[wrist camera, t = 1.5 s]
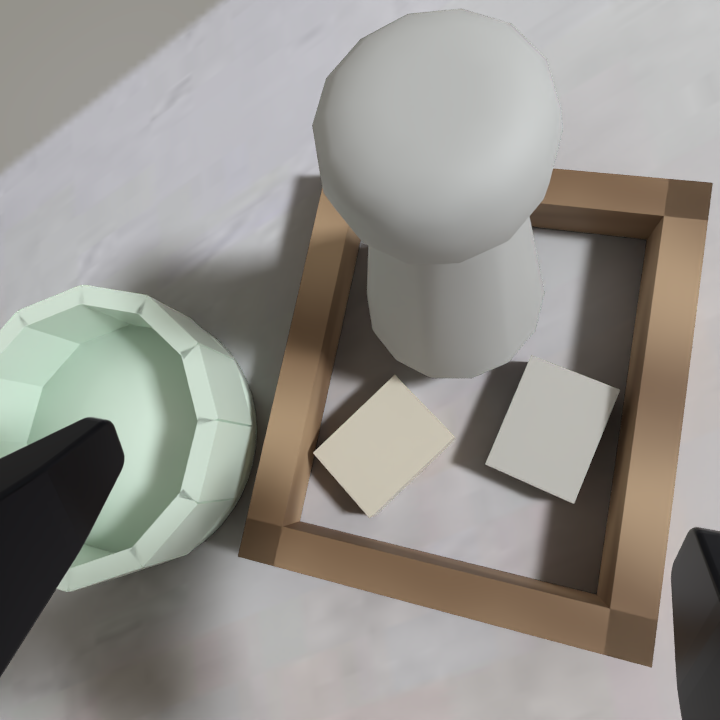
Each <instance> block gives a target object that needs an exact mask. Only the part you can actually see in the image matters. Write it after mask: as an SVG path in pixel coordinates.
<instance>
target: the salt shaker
mask: <svg viewBox="0 0 720 720" xmlns="http://www.w3.org/2000/svg"><path fill="white" fill-rule="evenodd" d="M312 126H313V133H314V139H315V145H316V152H317V158H318V164H319V170H320V176H321V182H322V187H323V192H324V194H325V196H326V197H327V198H328V200H329V201H330V202H331V204H332V205H333V207H334V208H335V209H336V210H337V212H338V213H339V214H340V215H341V217H342V218H343V219H344V220H345V221H346V223H347V224H348V225H349V226H350V228H351V229H352V230H353V231H354V233H355V234H356V235H357V236H358V237H359V239H360V240H361V241H362V242H363V243H364V244H366V245H368V274H367V298H368V304H369V311H370V317H371V323H372V330H373V331H374V333H375V334H376V335H377V336H378V338H379V339H380V340H381V341H382V343H383V344H384V345H385V347H386V348H387V349H388V350H389V352H390V353H391V354H392V355H393V357H394V358H395V359H396V360H397V361H399V362H401V363H403V364H405V365H407V366H409V367H411V368H412V369H414V370H416V371H418V372H420V373H422V374H424V375H426V376H428V377H430V378H474V377H476V376H478V375H481V374H483V373H485V372H487V371H490V370H492V369H494V368H497V367H499V366H501V365H504V364H506V363H508V362H509V361H510V360H511V359H512V358H513V357H514V356H515V354H516V353H517V352H518V351H519V350H520V348H521V347H522V346H523V345H524V344H525V343H526V341H527V340H528V339H529V338H530V337H531V335H532V334H533V333H534V332H535V331H536V327H537V322H538V318H539V314H540V310H541V306H542V302H543V298H544V294H545V291H544V286H543V281H542V276H541V271H540V266H539V261H538V256H537V251H536V246H535V241H534V236H533V231H532V226H531V221H530V215H531V214H532V213H533V211H534V210H535V209H536V208H537V207H538V205H539V204H540V203H541V202H542V201H543V199H544V197H545V194H546V191H547V188H548V185H549V183H550V179H551V175H552V171H553V167H554V163H555V160H556V156H557V152H558V148H559V144H560V140H561V137H562V133H563V123H562V109H561V105H560V102H559V98H558V95H557V91H556V88H555V85H554V81H553V78H552V74H551V71H550V68H549V64H548V61H547V59H546V58H545V57H544V56H543V55H542V54H541V53H540V52H539V51H538V50H537V49H536V48H535V47H534V46H533V45H532V44H531V43H530V42H529V41H528V40H527V39H526V38H525V37H524V36H523V35H522V34H521V33H520V32H519V31H518V30H517V29H516V28H515V27H514V26H513V25H512V24H511V23H507V22H504V21H501V20H497V19H494V18H491V17H487V16H484V15H481V14H477V13H474V12H471V11H467V10H464V9H453V10H443V11H432V12H422V13H411V14H407V15H405V16H403V17H401V18H399V19H397V20H396V21H394V22H392V23H390V24H388V25H386V26H384V27H382V28H381V29H379V30H377V31H375V32H373V33H371V34H369V35H367V36H366V37H364V38H362V39H360V40H359V42H358V43H357V44H356V45H355V46H354V47H353V48H352V50H351V51H350V52H349V53H348V54H347V55H346V56H345V57H344V59H343V60H342V61H341V62H340V63H339V64H338V65H337V67H336V68H335V69H334V70H333V71H332V72H331V73H330V74H329V76H328V77H327V78H326V81H325V84H324V88H323V91H322V94H321V98H320V101H319V104H318V108H317V111H316V115H315V118H314V121H313V125H312Z"/></svg>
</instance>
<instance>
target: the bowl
mask: <svg viewBox="0 0 720 720" xmlns="http://www.w3.org/2000/svg"><path fill="white" fill-rule="evenodd" d="M86 417H95V418H100V419H106V420H109V421H111V422H112V423H113V424H114V426H115V429H116V432H117V434H118V437H119V440H120V443H121V446H122V449H123V451H124V456H125V460H124V465H123V468H122V471H121V473H120V475H119V477H118V479H117V481H116V483H115V485H114V487H113V489H112V491H111V492H110V494H109V496H108V498H107V500H106V502H105V504H104V506H103V508H102V510H101V512H100V514H99V516H98V518H97V520H96V522H95V524H94V526H93V528H92V530H91V532H90V534H89V536H88V538H87V540H86V541H85V543H84V545H83V547H82V549H81V550H80V552H79V554H78V555H77V557H76V559H75V560H74V562H73V563H72V565H71V567H70V568H69V570H68V571H67V573H66V574H65V576H64V578H63V579H62V581H61V582H60V584H59V585H58V587H57V589H59V590H62V591H65V592H71V591H75V590H78V589H81V588H85V587H88V586H91V585H95V584H98V583H101V582H105V581H108V580H111V579H115V578H118V577H121V576H125V575H128V574H131V573H134V572H137V571H140V570H143V569H146V568H149V567H152V566H155V565H158V564H162V563H165V562H168V561H170V560H173V559H176V558H179V557H182V556H185V555H187V554H189V553H190V552H191V551H192V550H193V549H194V548H196V547H197V546H199V545H200V544H201V543H202V542H204V541H205V540H206V539H208V538H209V537H210V536H211V535H212V534H213V533H214V532H215V531H216V530H217V529H218V528H219V527H220V526H221V525H222V524H223V522H224V521H225V520H226V518H227V517H228V516H229V514H230V513H231V512H232V510H233V509H234V507H235V505H236V504H237V502H238V500H239V498H240V497H241V495H242V493H243V490H244V488H245V486H246V483H247V481H248V478H249V475H250V472H251V468H252V465H253V461H254V455H255V449H256V435H257V424H256V412H255V407H254V402H253V397H252V394H251V391H250V388H249V385H248V382H247V380H246V378H245V376H244V374H243V372H242V370H241V368H240V366H239V364H238V363H237V362H236V360H235V359H234V357H233V356H232V354H231V353H230V352H229V351H228V350H227V349H226V348H225V347H224V346H223V344H222V343H221V342H219V341H218V340H217V339H216V338H214V337H213V336H212V335H211V334H210V333H208V332H206V331H204V330H203V329H202V328H201V327H199V326H198V325H197V324H196V323H195V322H194V321H193V320H192V319H191V318H190V317H188V316H186V315H184V314H182V313H180V312H178V311H176V310H174V309H173V308H171V307H169V306H167V305H165V304H163V303H161V302H159V301H158V300H156V299H154V298H152V297H150V296H148V295H144V294H138V293H132V292H125V291H119V290H113V289H107V288H101V287H95V286H89V285H83V286H82V285H79V286H77V287H74V288H72V289H70V290H67V291H65V292H62V293H60V294H57V295H55V296H52V297H50V298H47V299H45V300H43V301H40V302H38V303H35V304H33V305H30V306H28V307H25V308H23V309H20V310H18V312H16V313H15V314H14V315H13V316H12V317H11V319H10V320H9V321H8V322H7V323H6V324H5V325H4V326H3V328H2V329H1V330H0V458H2V457H4V456H6V455H8V454H11V453H13V452H15V451H17V450H19V449H21V448H23V447H25V446H27V445H29V444H31V443H33V442H35V441H38V440H40V439H42V438H44V437H46V436H48V435H50V434H52V433H54V432H56V431H58V430H60V429H62V428H64V427H66V426H69V425H71V424H73V423H75V422H77V421H79V420H81V419H83V418H86Z"/></svg>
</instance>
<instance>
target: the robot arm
mask: <svg viewBox="0 0 720 720" xmlns="http://www.w3.org/2000/svg"><path fill="white" fill-rule="evenodd" d="M124 460H125V456H124V451H123V449H122V446H121V443H120V440H119V437H118V434H117V432H116V429H115V426H114V424H113V423H112V422H111V421H109V420H106V419H100V418H95V417H86V418H83V419H81V420H79V421H77V422H75V423H73V424H71V425H69V426H66V427H64V428H62V429H60V430H58V431H56V432H54V433H52V434H50V435H48V436H46V437H44V438H42V439H40V440H38V441H35V442H33V443H31V444H29V445H27V446H25V447H23V448H21V449H19V450H17V451H15V452H13V453H11V454H8V455H6V456H4V457H2V458H0V677H1V675H2V674H3V672H4V671H5V669H6V667H7V666H8V664H9V663H10V661H11V660H12V658H13V656H14V655H15V653H16V652H17V650H18V649H19V647H20V645H21V644H22V642H23V641H24V639H25V637H26V636H27V634H28V633H29V631H30V630H31V628H32V626H33V625H34V623H35V622H36V620H37V619H38V617H39V615H40V614H41V612H42V611H43V609H44V608H45V606H46V604H47V603H48V601H49V600H50V598H51V596H52V595H53V593H54V592H55V590H56V589H57V587H58V585H59V584H60V582H61V581H62V579H63V578H64V576H65V574H66V573H67V571H68V570H69V568H70V567H71V565H72V563H73V562H74V560H75V559H76V557H77V555H78V554H79V552H80V550H81V549H82V547H83V545H84V543H85V541H86V540H87V538H88V536H89V534H90V532H91V530H92V528H93V526H94V524H95V522H96V520H97V518H98V516H99V514H100V512H101V510H102V508H103V506H104V504H105V502H106V500H107V498H108V496H109V494H110V492H111V491H112V489H113V487H114V485H115V483H116V481H117V479H118V477H119V475H120V473H121V471H122V468H123V465H124ZM671 587H672V605H673V624H674V642H675V661H676V677H677V690H678V697H679V704H680V710H681V716H682V720H720V531H715V530H710V529H704V528H699V527H694V528H692V529H691V530H690V531H689V532H688V534H687V536H686V538H685V540H684V542H683V544H682V546H681V548H680V550H679V552H678V554H677V557H676V559H675V561H674V563H673V567H672V572H671Z"/></svg>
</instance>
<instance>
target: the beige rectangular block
mask: <svg viewBox="0 0 720 720" xmlns="http://www.w3.org/2000/svg"><path fill="white" fill-rule="evenodd" d="M455 440H456V438H455V437H454V435H453V434H452V433H451V432H450V431H449V430H448V429H447V428H446V427H445V426H444V425H443V424H442V423H441V422H440V421H439V420H438V419H437V418H436V417H435V416H434V415H433V414H432V413H431V412H430V411H429V410H428V409H427V408H426V406H425V405H424V404H423V403H422V402H421V401H420V400H419V399H418V398H417V397H416V396H415V395H414V394H413V393H412V392H411V391H410V390H409V389H408V388H407V387H406V386H405V385H404V384H403V383H402V382H401V381H400V380H399V379H398V378H397V376H396V375H394V376H393V377H392V378H391V379H390V380H389V381H388V382H387V383H385V384H384V385H383V386H382V387H381V388H380V389H379V390H378V391H377V392H376V393H375V394H374V395H373V396H372V397H371V398H370V399H369V400H368V401H367V402H366V403H365V404H364V405H362V406H361V407H360V408H359V409H358V410H357V411H356V412H355V413H354V414H353V415H352V416H351V417H350V418H349V419H348V420H347V421H346V422H345V423H344V424H343V425H342V426H340V427H339V428H338V429H337V430H336V431H335V432H334V433H333V434H332V435H331V436H330V437H329V438H328V439H327V440H326V441H325V442H324V443H323V444H322V445H321V446H320V447H319V448H317V449H316V450H315V451H314V452H313V454H314V455H315V456H316V457H317V458H318V459H319V460H320V462H321V463H322V464H323V465H324V466H325V467H326V469H327V470H328V471H329V472H330V473H331V474H332V475H333V477H334V478H335V479H336V480H337V481H338V482H339V484H340V485H341V486H342V487H343V488H344V489H345V490H346V492H347V493H348V494H349V495H350V496H351V497H352V499H353V500H354V501H355V502H356V503H357V504H358V505H359V507H360V508H361V509H362V510H363V511H364V512H365V514H366V515H367V516H368V517H369V518H372V517H374V516H376V515H377V514H378V513H379V512H380V511H381V510H383V509H384V508H385V507H386V506H387V505H388V504H389V503H390V502H391V501H392V500H393V499H394V498H395V497H396V496H397V495H398V494H399V493H400V492H401V491H402V490H403V489H405V488H406V487H407V486H408V485H409V484H410V483H411V482H412V481H413V480H414V479H415V478H416V477H417V476H418V475H419V474H420V473H421V472H422V471H423V470H424V469H425V468H427V467H428V466H429V465H430V464H431V463H432V462H433V461H434V460H435V459H436V458H437V457H438V456H439V455H440V454H441V453H442V452H443V451H444V450H445V449H446V448H447V447H449V446H450V445H451V444H452V443H453V442H454V441H455Z"/></svg>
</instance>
